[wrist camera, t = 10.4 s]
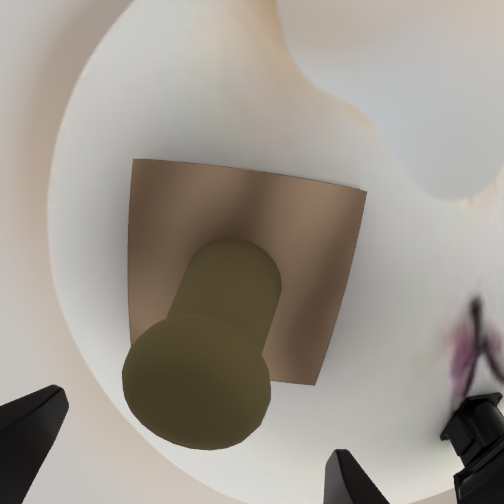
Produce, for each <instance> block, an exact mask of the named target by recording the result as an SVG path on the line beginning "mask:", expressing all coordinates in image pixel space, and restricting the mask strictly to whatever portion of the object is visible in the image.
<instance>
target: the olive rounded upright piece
mask: <svg viewBox="0 0 504 504" xmlns="http://www.w3.org/2000/svg"><path fill="white" fill-rule="evenodd" d="M281 291H282V285H281V275H280V272H279V270H278V268H277V265H276V263H275V261H274V260H273V259H272V258H271V257H270V256H269V254H268V253H267V252H266V251H265V250H264V249H262V248H261V247H259V246H257V245H255V244H254V243H252V242H250V241H246V240H242V239H238V238H225V239H217V240H215V241H213V242H210V243H208V244H206V245H204V246H203V247H202V248H201V249H200V250H198V251H197V252H196V253H195V254H194V255H193V257H192V259H191V261H190V263H189V265H188V267H187V269H186V271H185V273H184V276H183V278H182V280H181V283H180V285H179V288H178V290H177V292H176V295H175V297H174V300H173V302H172V304H171V307H170V309H169V312H168V314H167V317H166V319H164V320H161V321H159V322H157V323H156V324H154V325H152V326H151V327H150V328H148V329H147V330H146V331H145V332H144V333H143V334H142V335H140V336H139V337H138V338H137V340H136V341H135V342H134V343H133V345H132V346H131V348H130V350H129V353H128V355H127V357H126V360H125V363H124V366H123V370H122V382H123V391H124V397H125V400H126V402H127V404H128V406H129V408H130V410H131V412H132V413H133V414H134V416H135V417H136V418H137V419H138V420H139V421H140V422H141V424H142V425H144V426H145V427H146V428H147V429H149V430H150V431H151V432H153V433H154V434H156V435H157V436H159V437H161V438H163V439H165V440H167V441H169V442H171V443H173V444H176V445H180V446H183V447H187V448H191V449H199V450H217V449H225V448H229V447H231V446H234V445H236V444H238V443H241V442H242V441H243V440H245V439H246V438H247V437H248V436H249V435H250V434H251V433H252V432H254V431H255V430H256V429H257V428H258V427H259V426H260V425H261V423H262V420H263V418H264V416H265V413H266V411H267V408H268V406H269V403H270V400H271V385H270V375H269V370H268V367H267V364H266V362H265V360H264V358H263V356H262V352H263V349H264V346H265V343H266V340H267V337H268V334H269V331H270V327H271V324H272V321H273V318H274V315H275V312H276V308H277V305H278V302H279V298H280V295H281Z"/></svg>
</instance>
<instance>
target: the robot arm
mask: <svg viewBox="0 0 504 504" xmlns="http://www.w3.org/2000/svg"><path fill="white" fill-rule="evenodd" d="M502 397H503V395H502V394H501V393H497V394H491V395H485V396H477V397H470V398H467V399H466V400H465V401H464V403H463V404H462V406H461V408H460V409H459V411H458V412H457V414H456V415H455V416H454V418H453V419H452V421H451V422H450V424H449V425H448V426H447V428H446V429H445V431H444V432H443V433H442V435H441V436H440V439H441V441H443V440H449V439H450V441H451V443H452V445H453V447H454V450H455V452H456V454H457V456H460V458H461V460H462V463H463V465H464V467H465V468H464V469H463V470H461V471H460V472H459V473H456V474H455V475H454V476H453V477H454V485H455V491H456V498H457V504H504V417H503V415H502V414H501V412H500V411H499V409H498V408H497V405H498V403H499V402H500V400H501V399H502ZM68 408H69V403H68V400H67V397H66V394H65V391H64V389H63V388H61V387H59V386H57V385H50V386H48V387H45V388H43V389H41V390H39V391H36V392H33V393H31V394H29V395H26V396H24V397H21V398H19V399H16V400H14V401H11V402H9V403H6V404H4V405H2V406H0V504H22V502H23V500H24V498H25V496H26V494H27V492H28V490H29V488H30V486H31V484H32V482H33V480H34V478H35V477H36V475H37V473H38V471H39V469H40V467H41V465H42V463H43V462H44V460H45V458H46V456H47V454H48V452H49V450H50V449H51V447H52V445H53V443H54V441H55V439H56V437H57V435H58V432H59V430H60V428H61V425H62V423H63V420H64V418H65V416H66V414H67V411H68ZM323 504H390V503H389V502H388V501H387V500H386V498H385V497H384V496H383V495H382V493H381V492H380V491H379V490H378V488H377V487H376V486H375V484H374V483H373V482H372V481H371V479H370V478H369V477H368V475H367V474H366V473H365V471H364V470H363V469H362V468H361V466H360V465H359V464H358V462H357V461H356V460H355V458H354V457H353V456H352V454H351V453H350V452H349V451H348V450H347V449H336V450H334V451H333V453H332V455H331V456H330V458H329V459H328V461H327V463H326V467H325V486H324V503H323Z"/></svg>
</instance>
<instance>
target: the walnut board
mask: <svg viewBox="0 0 504 504" xmlns="http://www.w3.org/2000/svg"><path fill="white" fill-rule="evenodd" d="M366 194H367V192H366V191H363V190H360V189H355V188H350V187H346V186H341V185H336V184H331V183H326V182H320V181H315V180H309V179H304V178H298V177H292V176H286V175H280V174H274V173H267V172H261V171H254V170H247V169H239V168H231V167H223V166H215V165H206V164H197V163H187V162H176V161H164V160H151V159H133V166H132V177H131V189H130V204H129V223H128V306H129V325H130V340H131V346H132V345H133V343H134V342H135V341H136V340H137V338H138V337H139V336H140V335H142V334H143V333H144V332H145V331H146V330H147V329H148V328H150V327H151V326H152V325H154V324H156V323H157V322H159V321H161V320H164V319H166V317H167V314H168V312H169V309H170V307H171V304H172V302H173V300H174V297H175V295H176V292H177V290H178V288H179V285H180V283H181V280H182V278H183V276H184V273H185V271H186V269H187V267H188V265H189V263H190V261H191V259H192V257H193V255H194V254H195V253H196V252H197V251H198V250H200V249H201V248H202V247H203V246H204V245H206V244H208V243H210V242H213V241H215V240H217V239H225V238H238V239H242V240H246V241H250V242H252V243H254V244H255V245H257V246H259V247H261V248H262V249H264V250H265V251H266V252H267V253H268V254H269V256H270V257H271V258H272V259H273V260H274V261H275V263H276V265H277V268H278V270H279V272H280V275H281V285H282V291H281V295H280V298H279V302H278V305H277V308H276V312H275V315H274V318H273V321H272V324H271V327H270V331H269V334H268V337H267V340H266V343H265V346H264V349H263V352H262V356H263V358H264V360H265V362H266V364H267V367H268V370H269V375H270V381H277V382H286V383H294V384H304V385H314V386H315V384H316V381H317V379H318V376H319V373H320V370H321V367H322V364H323V361H324V358H325V355H326V352H327V349H328V346H329V343H330V339H331V336H332V333H333V330H334V326H335V323H336V320H337V316H338V313H339V309H340V306H341V302H342V299H343V295H344V291H345V288H346V284H347V280H348V276H349V272H350V268H351V264H352V260H353V256H354V252H355V247H356V243H357V239H358V234H359V229H360V225H361V220H362V215H363V210H364V205H365V200H366Z"/></svg>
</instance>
